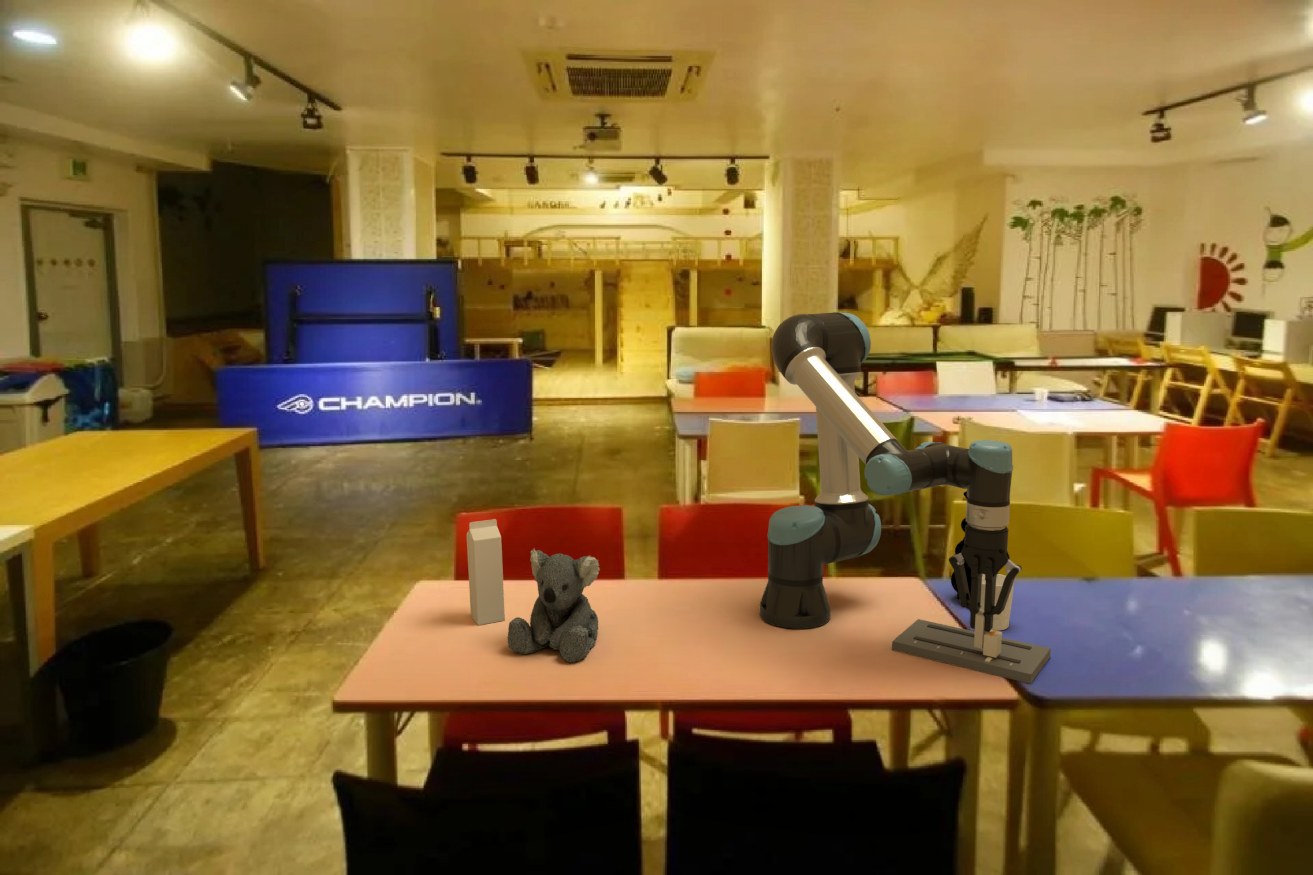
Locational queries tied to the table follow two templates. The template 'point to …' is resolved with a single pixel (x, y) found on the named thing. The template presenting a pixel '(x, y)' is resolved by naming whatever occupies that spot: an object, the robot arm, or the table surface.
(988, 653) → the fader front
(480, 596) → the milk
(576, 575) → the koala plush
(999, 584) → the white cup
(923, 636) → the console
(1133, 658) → the table surface
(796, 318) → the robot arm
